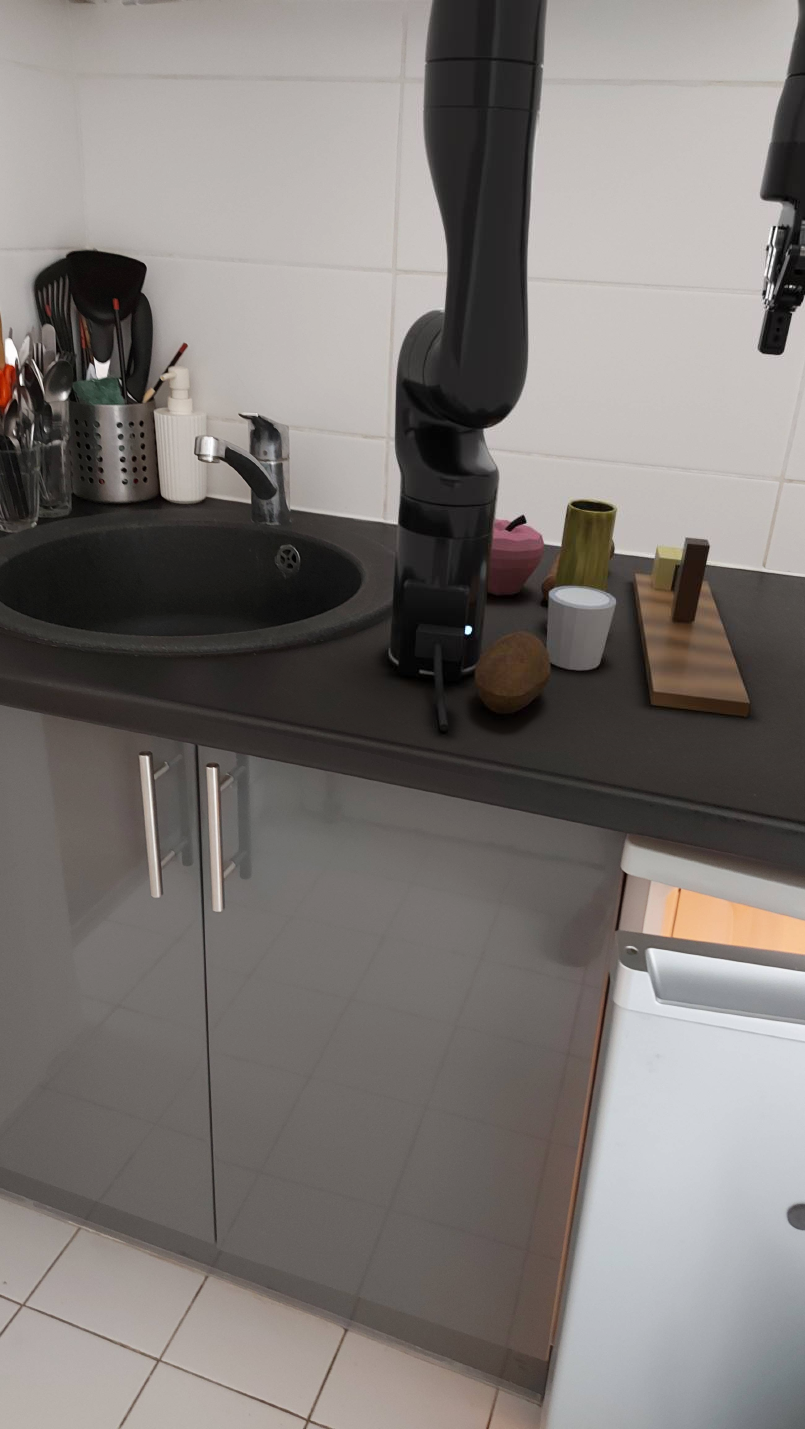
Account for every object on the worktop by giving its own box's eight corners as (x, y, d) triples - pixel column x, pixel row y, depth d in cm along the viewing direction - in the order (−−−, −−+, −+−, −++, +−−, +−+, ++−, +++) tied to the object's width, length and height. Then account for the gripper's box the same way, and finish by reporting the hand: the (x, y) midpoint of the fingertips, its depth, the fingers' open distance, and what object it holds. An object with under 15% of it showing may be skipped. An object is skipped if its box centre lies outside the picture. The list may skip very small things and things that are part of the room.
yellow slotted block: (695, 593, 122) (702, 562, 121) (653, 588, 123) (659, 557, 121) (691, 580, 127) (697, 549, 125) (651, 576, 127) (656, 545, 125)
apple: (523, 579, 127) (532, 501, 123) (549, 604, 120) (560, 522, 115) (451, 581, 125) (458, 502, 120) (472, 606, 118) (481, 523, 113)
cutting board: (746, 717, 96) (750, 702, 95) (650, 705, 97) (653, 691, 96) (704, 592, 128) (707, 581, 127) (633, 584, 129) (635, 573, 128)
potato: (458, 724, 90) (465, 653, 87) (485, 675, 100) (492, 609, 97) (533, 738, 89) (542, 666, 86) (552, 687, 99) (562, 621, 96)
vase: (550, 640, 110) (569, 511, 103) (541, 620, 115) (558, 496, 109) (606, 643, 110) (627, 515, 104) (594, 622, 116) (614, 499, 109)
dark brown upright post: (694, 621, 113) (710, 545, 109) (672, 619, 113) (687, 543, 109) (679, 570, 129) (693, 503, 125) (660, 568, 129) (673, 500, 125)
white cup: (565, 676, 101) (575, 611, 98) (527, 651, 107) (535, 588, 104) (619, 667, 104) (630, 603, 101) (579, 642, 110) (589, 581, 107)
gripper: (758, 143, 93) (720, 342, 101) (784, 133, 81) (738, 359, 89) (843, 149, 92) (797, 349, 100) (881, 139, 80) (826, 366, 88)
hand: (769, 353), depth 94 cm, fingers closed
